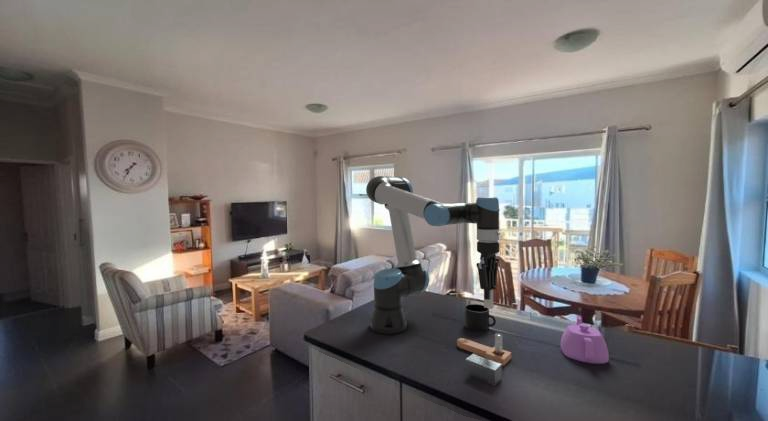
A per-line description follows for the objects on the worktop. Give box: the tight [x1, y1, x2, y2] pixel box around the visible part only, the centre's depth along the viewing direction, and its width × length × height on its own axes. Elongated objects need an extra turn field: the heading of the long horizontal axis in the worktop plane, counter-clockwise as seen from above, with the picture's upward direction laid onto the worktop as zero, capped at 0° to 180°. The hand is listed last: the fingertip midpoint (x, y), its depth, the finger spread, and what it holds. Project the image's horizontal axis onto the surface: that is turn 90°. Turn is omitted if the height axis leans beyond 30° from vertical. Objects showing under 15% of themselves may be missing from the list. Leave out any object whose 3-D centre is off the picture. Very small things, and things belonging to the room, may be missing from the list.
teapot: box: [560, 315, 610, 365], centre depth 105 cm, size 13×20×11 cm
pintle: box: [494, 333, 503, 356], centre depth 102 cm, size 2×2×8 cm
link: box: [456, 337, 512, 367], centre depth 106 cm, size 18×6×2 cm, turn 46°
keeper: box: [465, 353, 503, 387], centre depth 92 cm, size 9×4×5 cm, turn 46°
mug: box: [464, 303, 497, 333], centre depth 127 cm, size 9×12×9 cm
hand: (488, 307), depth 111 cm, fingers closed
